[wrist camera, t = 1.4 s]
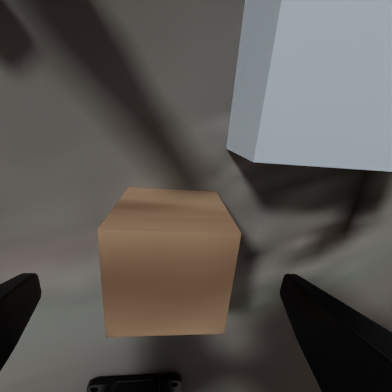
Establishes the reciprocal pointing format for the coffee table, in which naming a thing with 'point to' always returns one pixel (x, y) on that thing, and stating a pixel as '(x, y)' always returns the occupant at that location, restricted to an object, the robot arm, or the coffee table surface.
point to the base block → (314, 84)
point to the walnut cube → (167, 263)
